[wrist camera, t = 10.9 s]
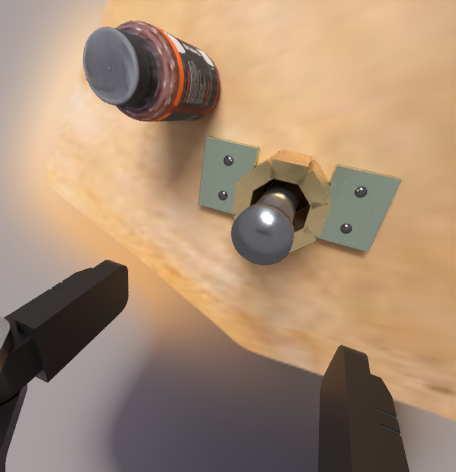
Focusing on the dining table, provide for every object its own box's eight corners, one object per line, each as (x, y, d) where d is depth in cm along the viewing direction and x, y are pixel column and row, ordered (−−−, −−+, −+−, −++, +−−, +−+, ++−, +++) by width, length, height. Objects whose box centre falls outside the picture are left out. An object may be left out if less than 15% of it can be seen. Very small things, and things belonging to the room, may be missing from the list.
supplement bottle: (211, 37, 23) (129, -21, 14) (230, 109, 25) (169, 104, 15) (156, 64, 26) (52, 31, 16) (177, 128, 28) (95, 134, 18)
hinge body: (210, 134, 27) (182, 138, 21) (399, 175, 23) (421, 192, 18) (201, 203, 30) (175, 221, 25) (365, 249, 26) (375, 282, 21)
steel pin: (271, 167, 26) (237, 200, 16) (310, 176, 25) (301, 217, 15) (263, 203, 28) (226, 254, 18) (299, 213, 27) (283, 272, 17)
